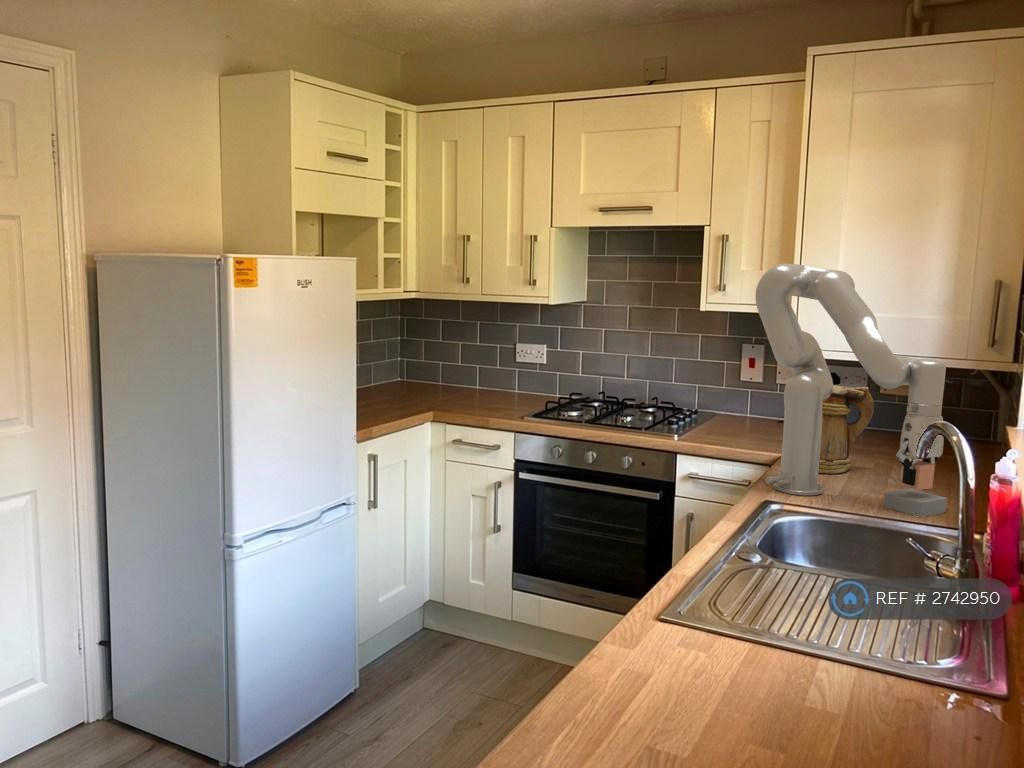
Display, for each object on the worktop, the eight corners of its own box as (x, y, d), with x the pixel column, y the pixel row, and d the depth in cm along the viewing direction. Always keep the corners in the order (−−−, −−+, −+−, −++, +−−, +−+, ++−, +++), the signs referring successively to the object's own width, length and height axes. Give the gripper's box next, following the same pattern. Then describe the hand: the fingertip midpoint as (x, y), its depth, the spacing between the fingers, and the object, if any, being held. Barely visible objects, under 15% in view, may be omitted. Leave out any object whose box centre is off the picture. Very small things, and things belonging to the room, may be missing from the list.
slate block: (920, 519, 202) (921, 503, 201) (883, 508, 210) (884, 492, 210) (945, 513, 207) (947, 498, 206) (908, 503, 215) (910, 488, 215)
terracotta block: (917, 490, 204) (920, 465, 204) (900, 484, 209) (903, 461, 208) (932, 488, 206) (934, 464, 206) (915, 483, 211) (917, 459, 210)
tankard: (782, 457, 262) (788, 378, 258) (864, 464, 255) (871, 383, 252) (784, 471, 245) (790, 385, 241) (871, 479, 238) (879, 391, 235)
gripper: (911, 414, 198) (904, 490, 201) (962, 411, 205) (954, 484, 208) (885, 409, 205) (878, 482, 208) (935, 406, 212) (928, 477, 215)
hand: (916, 482), depth 208 cm, fingers closed on terracotta block, 4 cm apart
